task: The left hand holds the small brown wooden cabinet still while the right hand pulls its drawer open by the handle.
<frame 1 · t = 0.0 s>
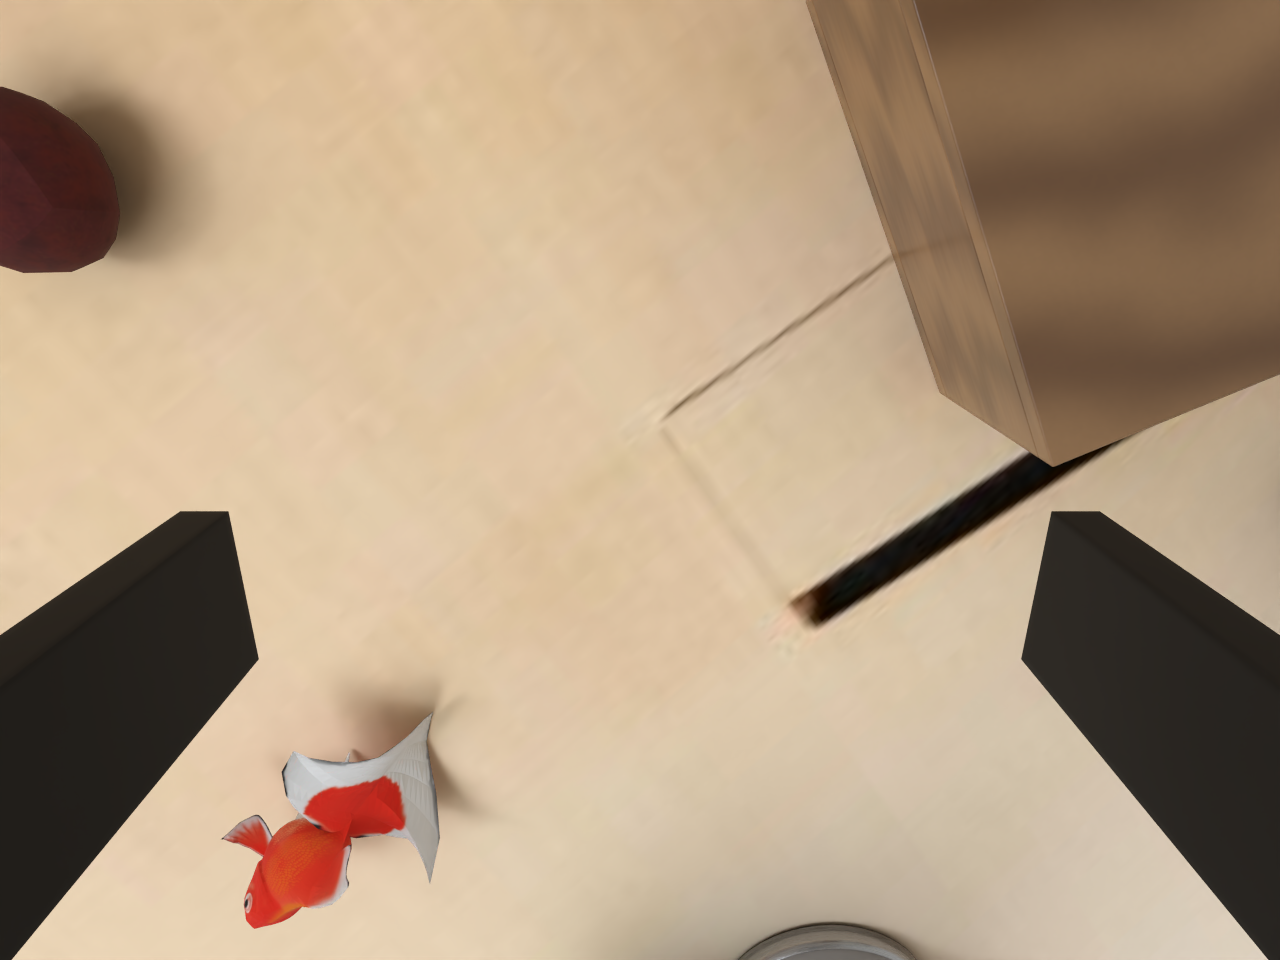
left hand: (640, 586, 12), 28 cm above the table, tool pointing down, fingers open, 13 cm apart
potato: (77, 187, 36), on the table
fish: (362, 767, 48), on the table
cabinet: (989, 160, 36), on the table
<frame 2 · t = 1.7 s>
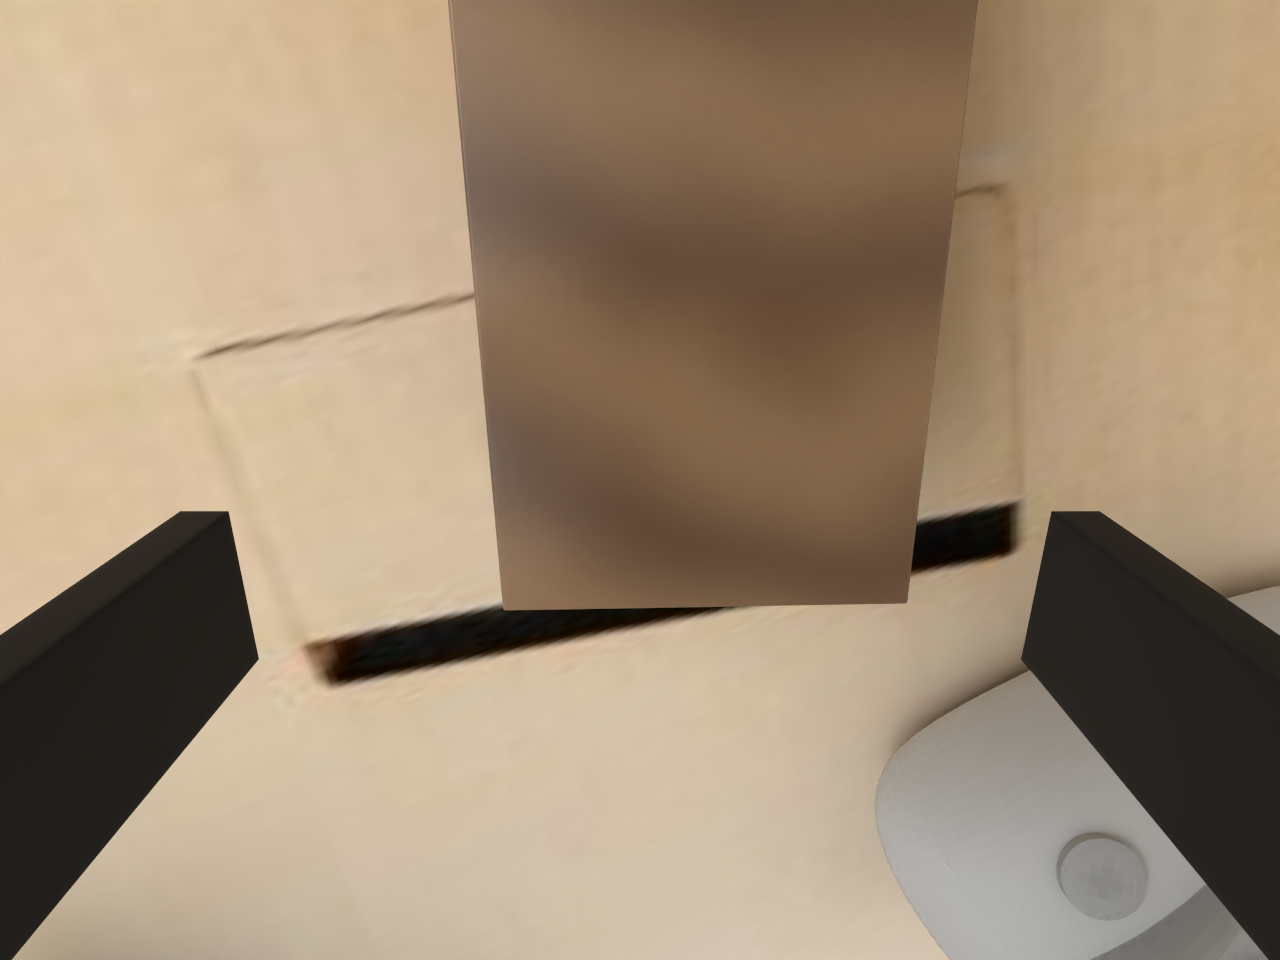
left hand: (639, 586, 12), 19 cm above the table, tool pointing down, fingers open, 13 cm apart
cabinet: (682, 218, 28), on the table
projector: (1110, 733, 37), on the table
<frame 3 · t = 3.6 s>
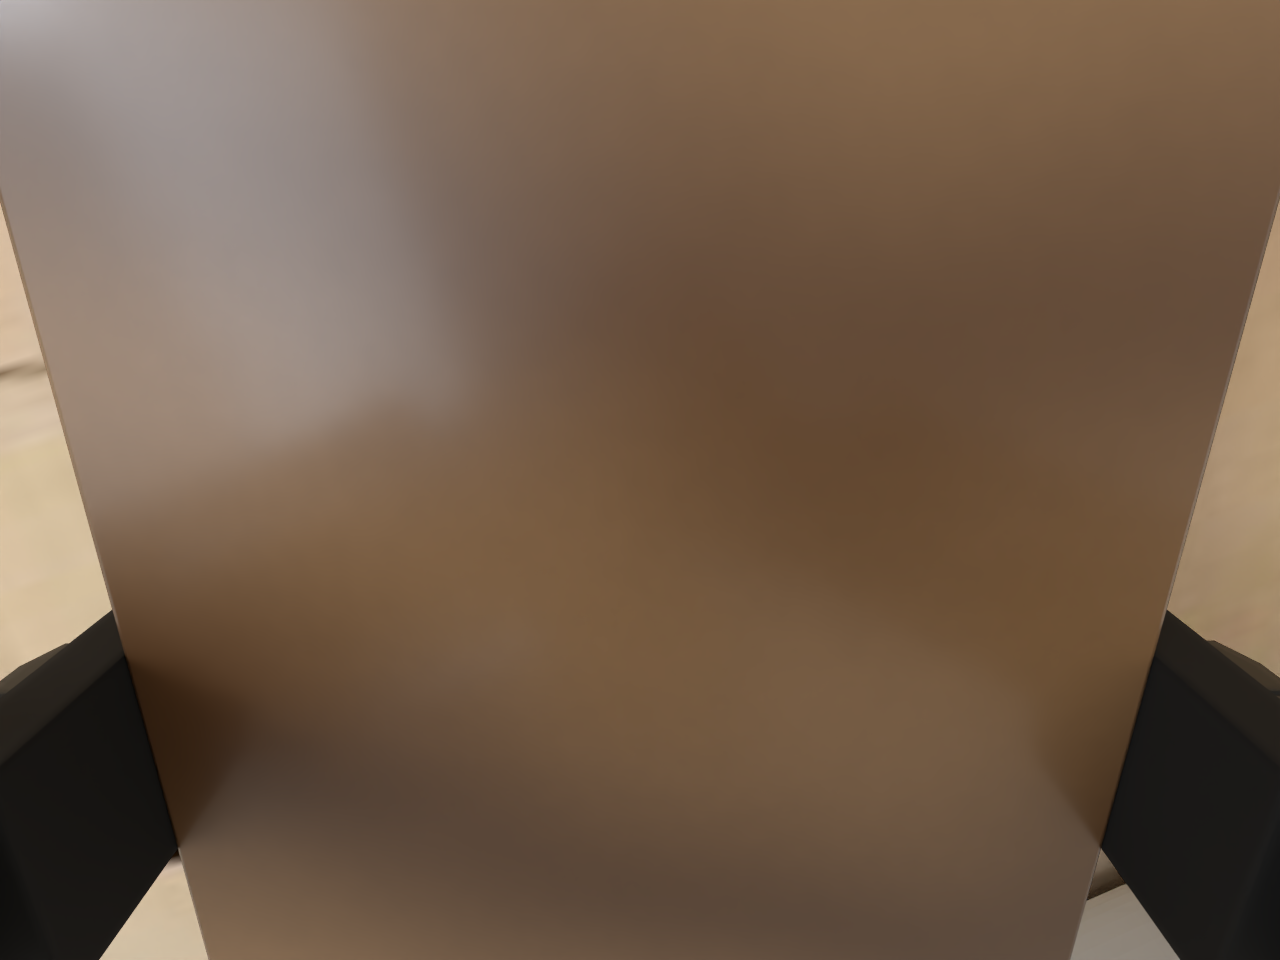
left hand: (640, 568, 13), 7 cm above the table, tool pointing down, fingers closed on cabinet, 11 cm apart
cabinet: (639, 195, 17), on the table, touching left hand
projector: (1247, 944, 26), on the table
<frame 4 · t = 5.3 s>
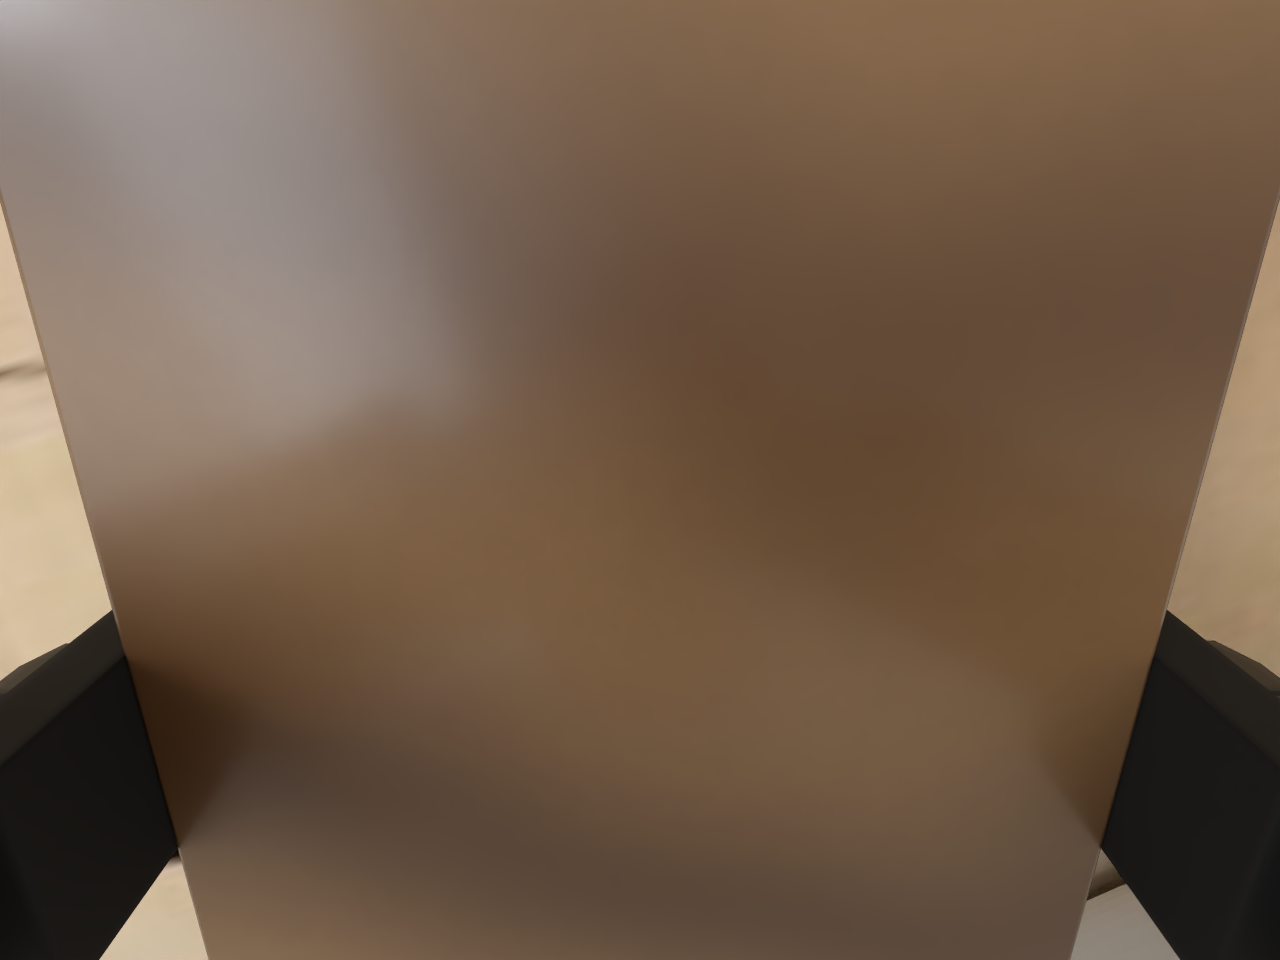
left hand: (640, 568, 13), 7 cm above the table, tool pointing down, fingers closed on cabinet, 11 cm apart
cabinet: (639, 195, 17), on the table, touching left hand
projector: (1247, 945, 26), on the table
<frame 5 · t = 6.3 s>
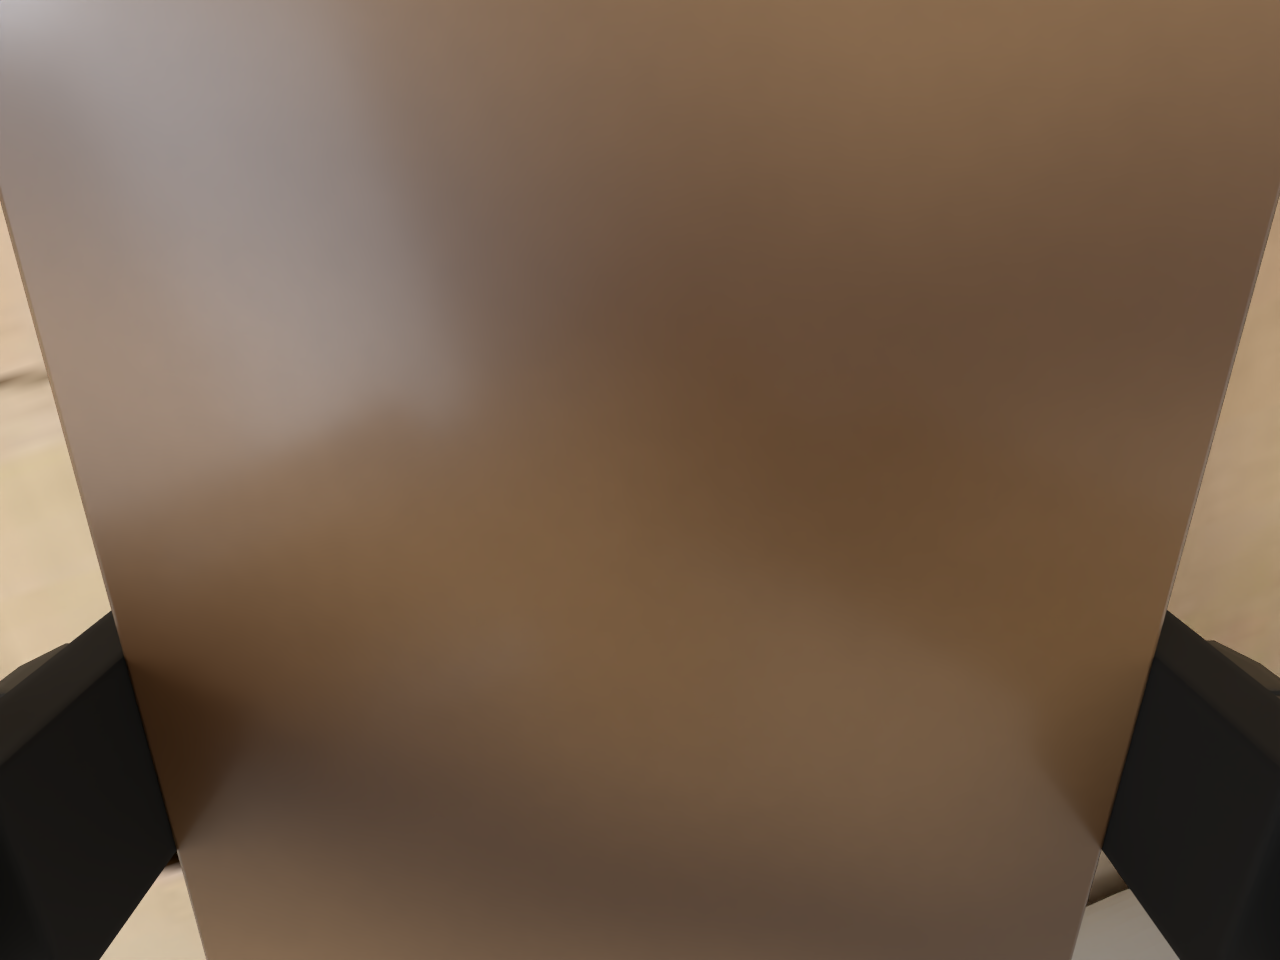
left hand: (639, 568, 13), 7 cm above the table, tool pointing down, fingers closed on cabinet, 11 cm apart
cabinet: (639, 196, 17), on the table, touching left hand
projector: (1247, 950, 26), on the table
when the left hand's fingers open (7 cm above the table, at t = 8.1 s): cabinet stays where it is, on the table.
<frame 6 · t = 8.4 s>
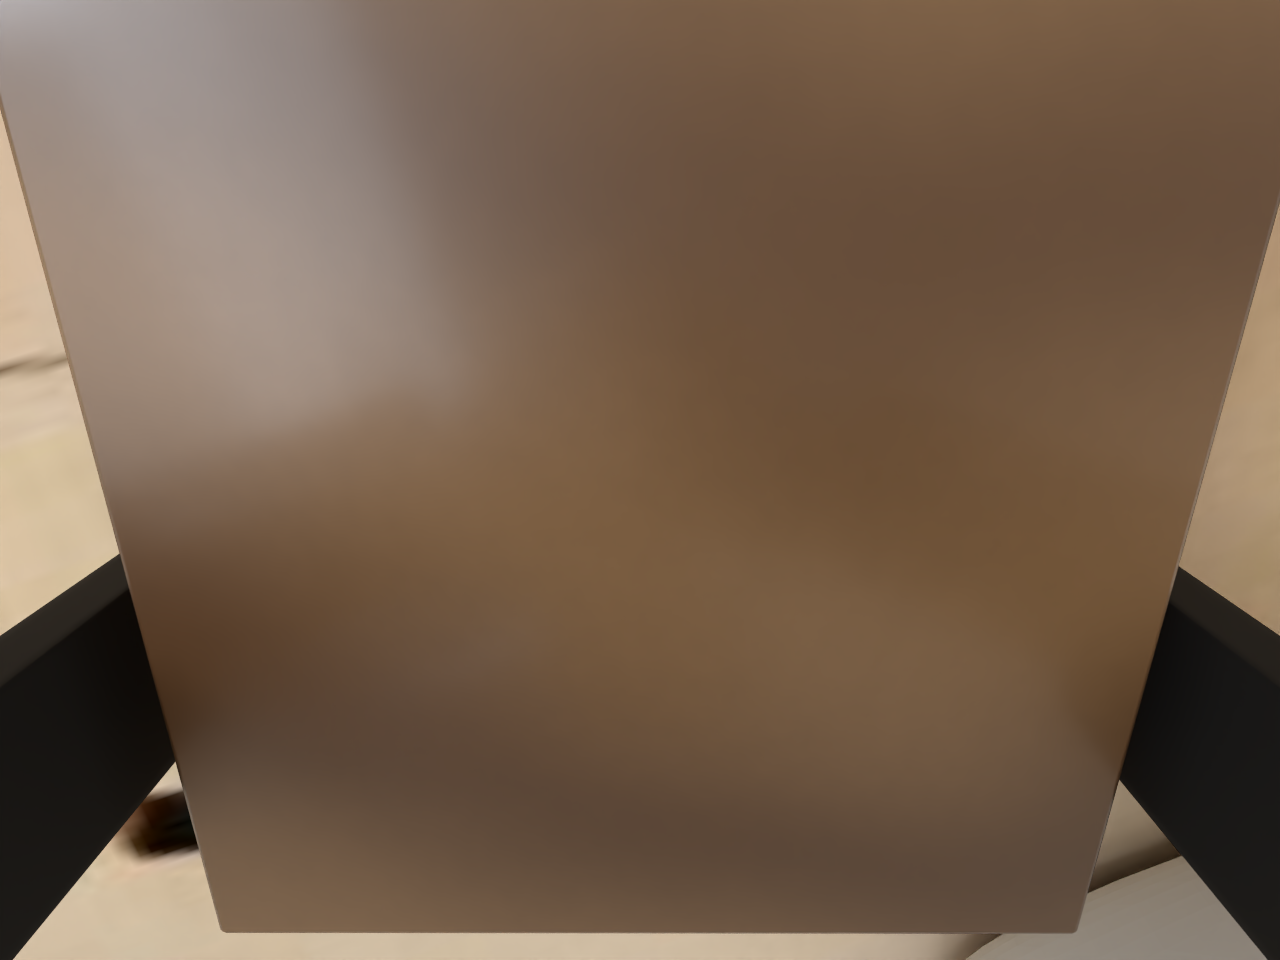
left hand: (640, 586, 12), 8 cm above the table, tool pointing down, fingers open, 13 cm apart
cabinet: (645, 151, 17), on the table
projector: (1247, 938, 26), on the table
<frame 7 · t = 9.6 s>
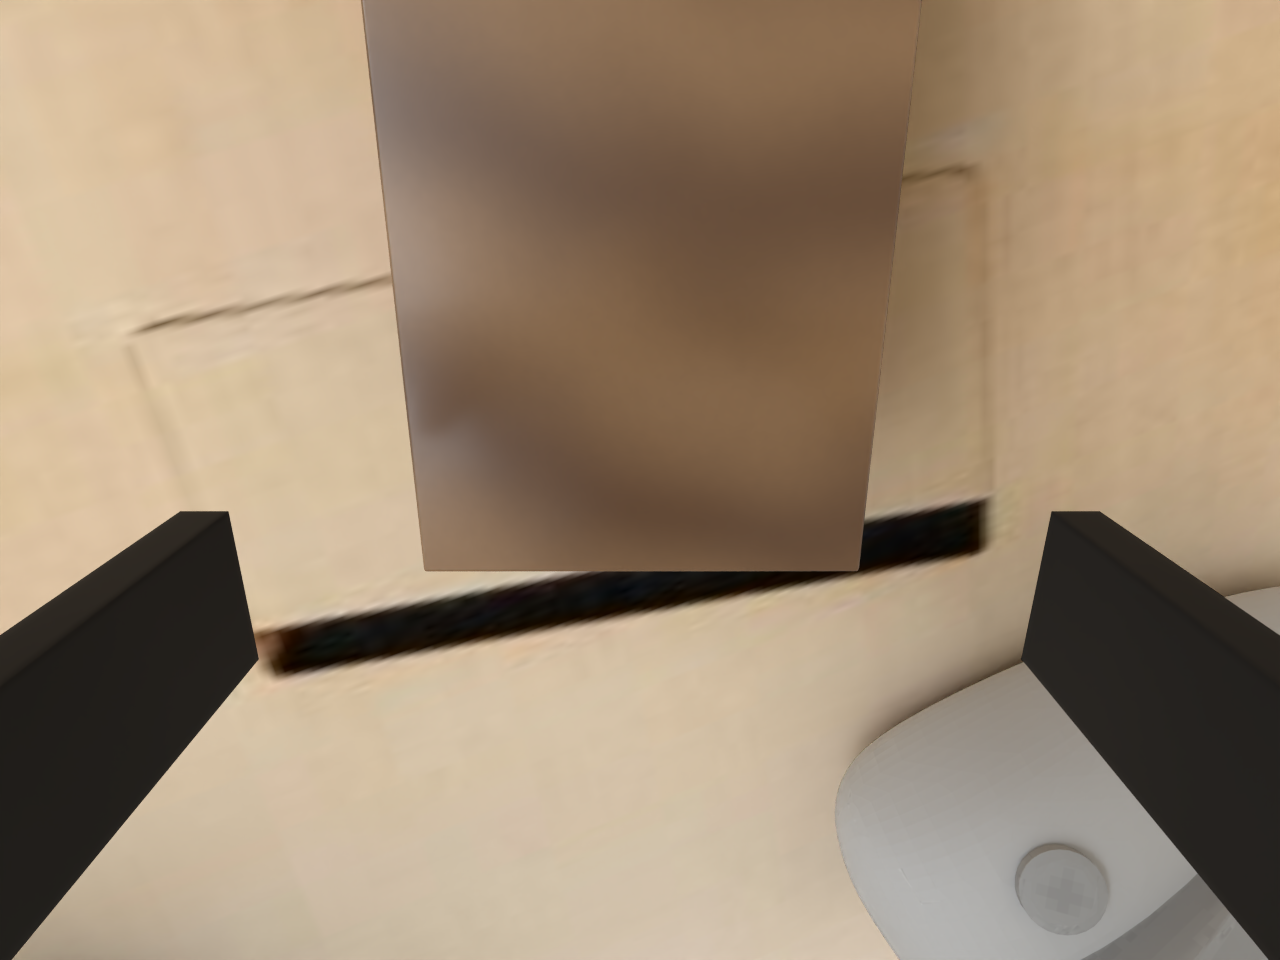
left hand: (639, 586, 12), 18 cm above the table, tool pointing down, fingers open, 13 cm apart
cabinet: (640, 169, 27), on the table
projector: (1080, 739, 35), on the table
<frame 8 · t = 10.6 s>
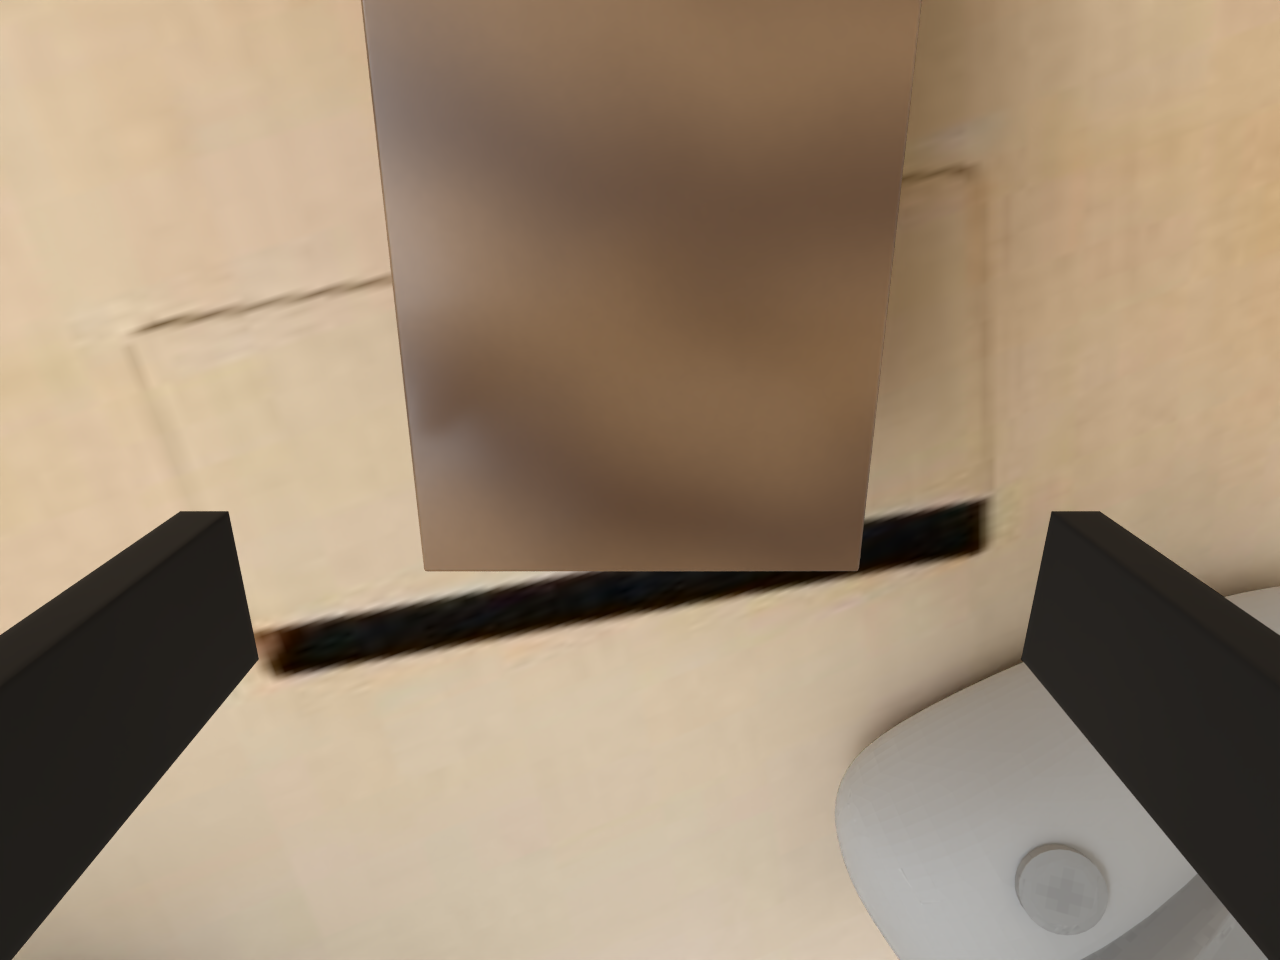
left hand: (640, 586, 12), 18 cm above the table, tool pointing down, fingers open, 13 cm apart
cabinet: (640, 169, 27), on the table
projector: (1080, 739, 35), on the table
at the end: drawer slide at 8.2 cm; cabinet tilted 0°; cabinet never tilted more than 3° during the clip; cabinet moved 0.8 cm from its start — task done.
